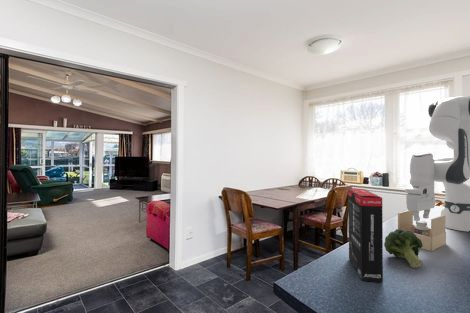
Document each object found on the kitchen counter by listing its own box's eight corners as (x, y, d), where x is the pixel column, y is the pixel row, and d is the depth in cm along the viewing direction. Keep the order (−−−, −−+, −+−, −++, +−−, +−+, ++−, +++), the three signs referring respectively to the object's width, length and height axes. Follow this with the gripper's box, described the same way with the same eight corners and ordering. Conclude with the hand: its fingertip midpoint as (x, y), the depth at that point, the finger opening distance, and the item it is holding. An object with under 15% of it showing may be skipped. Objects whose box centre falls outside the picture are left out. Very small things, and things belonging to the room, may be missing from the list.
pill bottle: (410, 240, 113) (411, 220, 113) (421, 240, 113) (421, 219, 113) (420, 245, 108) (420, 223, 108) (431, 244, 108) (432, 223, 108)
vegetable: (390, 262, 86) (373, 231, 99) (408, 282, 89) (389, 249, 102) (425, 247, 81) (402, 217, 94) (443, 268, 84) (418, 236, 98)
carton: (412, 235, 120) (412, 209, 120) (445, 244, 109) (446, 215, 109) (396, 241, 112) (397, 213, 112) (431, 251, 101) (432, 219, 101)
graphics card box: (384, 284, 75) (385, 195, 75) (360, 282, 76) (360, 195, 76) (366, 260, 92) (366, 188, 91) (346, 259, 93) (347, 187, 93)
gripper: (423, 187, 118) (422, 215, 118) (403, 189, 107) (403, 220, 107) (439, 188, 113) (439, 218, 113) (420, 191, 102) (420, 224, 102)
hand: (421, 219), depth 110 cm, fingers open, 8 cm apart
